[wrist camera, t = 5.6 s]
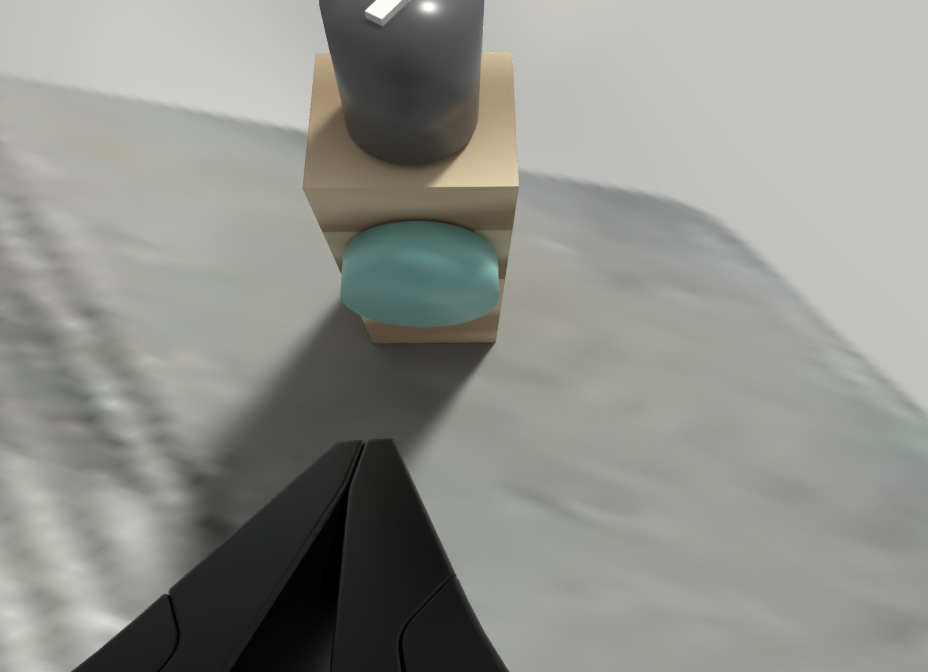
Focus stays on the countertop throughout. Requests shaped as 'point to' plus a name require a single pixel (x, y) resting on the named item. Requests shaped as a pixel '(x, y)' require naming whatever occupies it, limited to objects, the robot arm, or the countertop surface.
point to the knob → (420, 274)
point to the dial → (407, 74)
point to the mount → (418, 186)
